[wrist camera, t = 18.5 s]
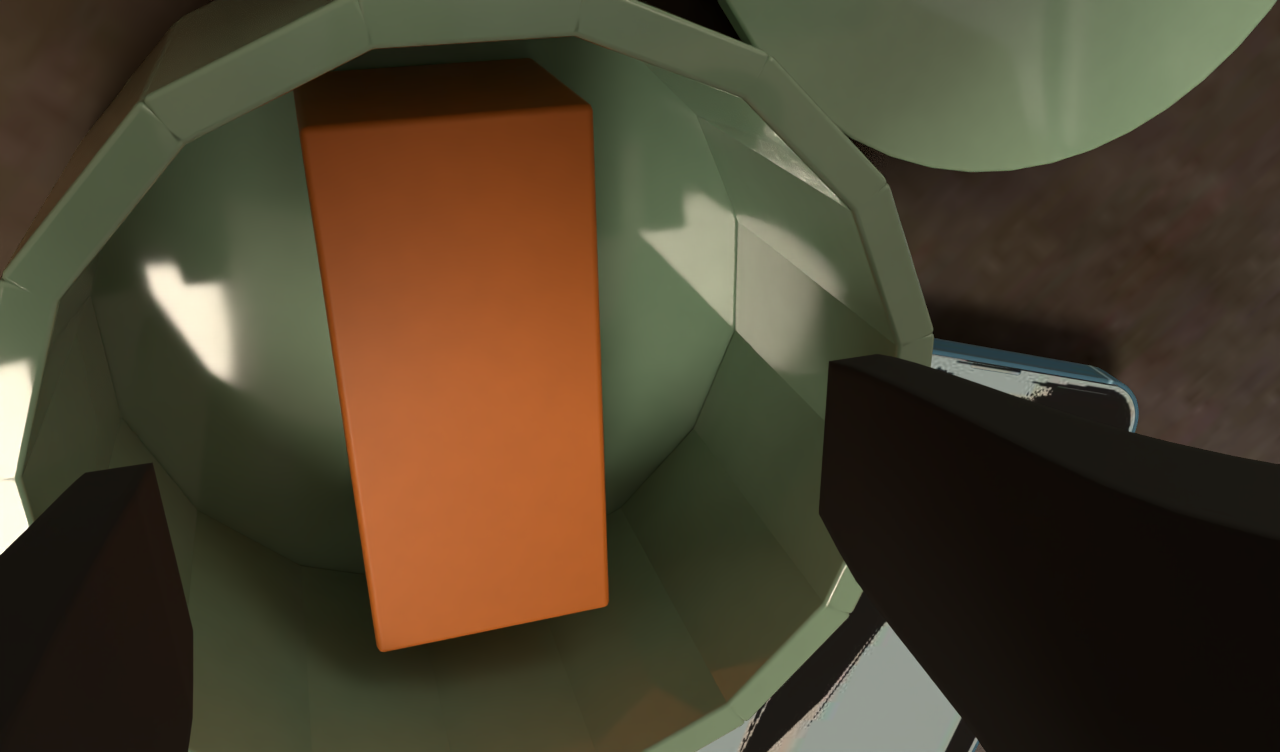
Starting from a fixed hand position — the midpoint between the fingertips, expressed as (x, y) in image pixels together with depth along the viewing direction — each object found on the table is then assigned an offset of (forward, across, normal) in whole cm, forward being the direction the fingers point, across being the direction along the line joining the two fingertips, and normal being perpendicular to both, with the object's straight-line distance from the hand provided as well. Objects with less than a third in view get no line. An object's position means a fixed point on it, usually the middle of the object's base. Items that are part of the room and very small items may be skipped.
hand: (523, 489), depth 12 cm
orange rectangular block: (+5, 0, 0) cm, 5 cm away
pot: (+6, 0, 0) cm, 6 cm away
